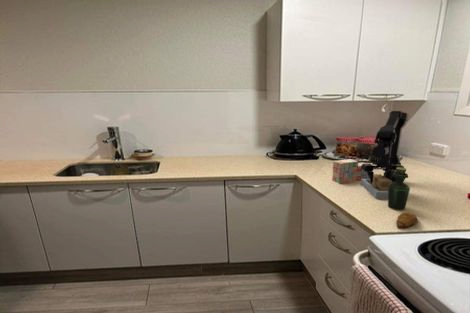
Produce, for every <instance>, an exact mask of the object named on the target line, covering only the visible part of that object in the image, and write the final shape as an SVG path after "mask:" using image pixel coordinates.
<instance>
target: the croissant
mask: <svg viewBox="0 0 470 313" xmlns="http://www.w3.org/2000/svg"><path fill="white" fill-rule="evenodd" d="M418 223H419V219H418V217H417V215H416V214H414V213H411V212H402V213H400V214H399V215H398V216H397V220H396V227H397V229H407V228H411V227H414V226H415V225H416V224H418Z"/></svg>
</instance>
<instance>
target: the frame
mask: <svg viewBox="0 0 470 313" xmlns="http://www.w3.org/2000/svg"><path fill="white" fill-rule="evenodd" d="M360 185H361V187H363V189H365V190H366V191H367V192H368V193H369V194H370V195H371V196H372V197H373V198H374V199H375V200H388V191H379V190H378V189H376V188H375V187H373V186H372V185H371V184H370V179H361V181H360Z"/></svg>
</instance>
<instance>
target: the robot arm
mask: <svg viewBox="0 0 470 313" xmlns="http://www.w3.org/2000/svg"><path fill="white" fill-rule="evenodd" d="M408 121H409V114H408V113H407V112H403V111H401V110H391V111H390V112H389V116H388V119H387V121H386V123H385V125H383V126H381V127H380V129H379V130H378V131H377V133H376V136H375V139H374V142H373V143H374V144H377V146H375V147H373V149H372V151H371V152H372V155H371V156H369V157H368V162H369V163H365V164H362V167H361V169H363V170H364V171H366V172H367V173H368V176H369V179H370V183H371V184H372V182H373V175H374V174H375V173H374V170H382V171H384V172H383V175H382V176H384V177H386V178H388V179H389V180H391V181H393V182H396V179H395V177H394V176H393V173H394V172H397V171H396V168H397V167H401V168H405V166H404V165H403V164H402V162H401V157H400V156H399V149H400V143H401V137H402V130H403V128H404V127H405V126H406V125H407V122H408Z"/></svg>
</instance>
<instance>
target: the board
mask: <svg viewBox="0 0 470 313" xmlns="http://www.w3.org/2000/svg"><path fill="white" fill-rule="evenodd" d="M392 182H393V181H391V180H389V179H388V178H386V177H384V176H383V175H382V174H375V173H374V175H373V182H372V184H371V183H370V184H371V185H372V186H373V187H375V188H376V189H377V190H379V191H388V185H389V184H390V183H392Z"/></svg>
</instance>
